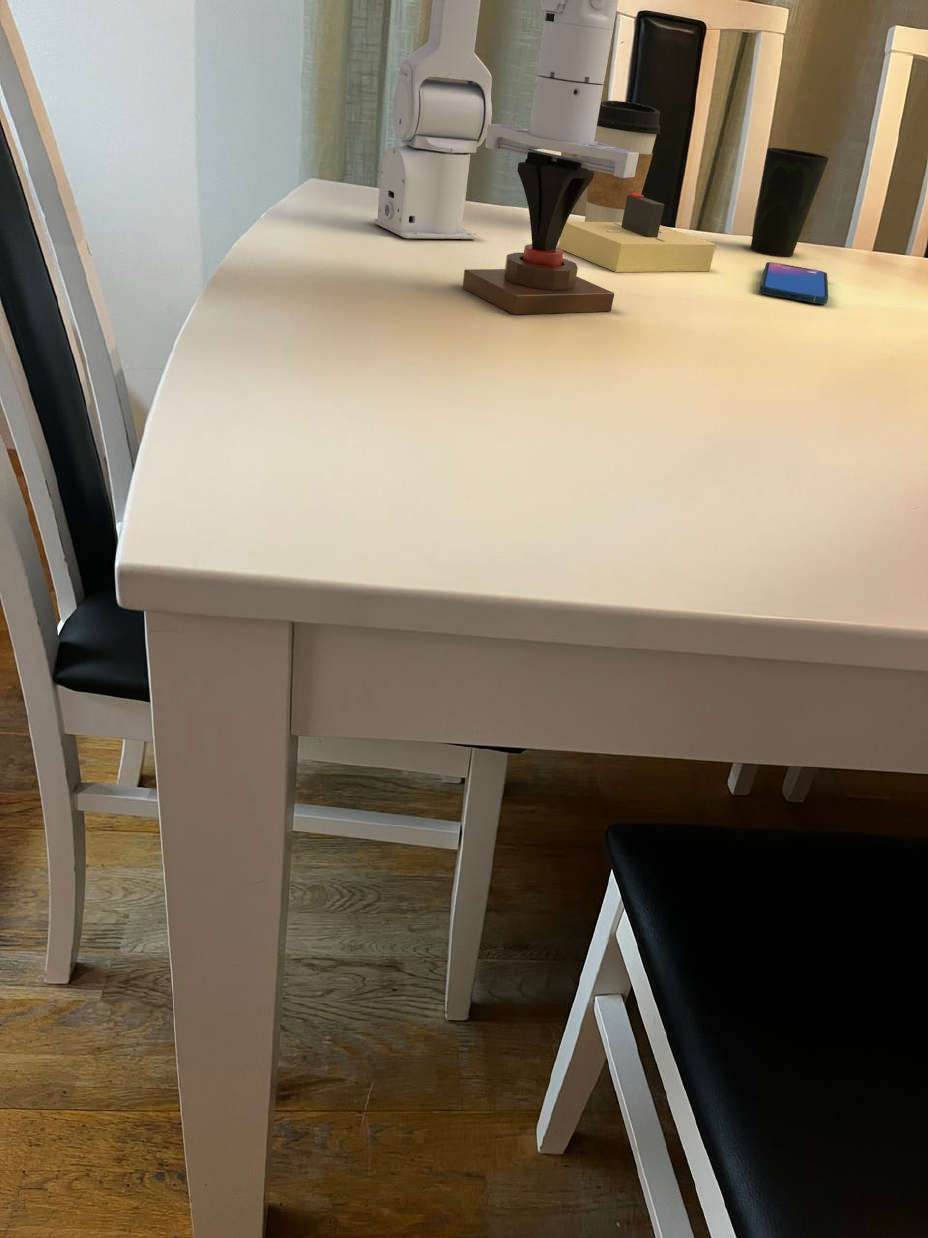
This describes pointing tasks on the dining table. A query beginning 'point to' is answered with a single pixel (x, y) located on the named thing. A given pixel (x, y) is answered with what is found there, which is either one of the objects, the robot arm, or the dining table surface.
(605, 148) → the robot arm
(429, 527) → the dining table surface
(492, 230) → the dining table surface
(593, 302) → the button block
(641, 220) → the dark grey rectangular block
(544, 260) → the button
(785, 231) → the cup
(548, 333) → the dining table surface
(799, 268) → the smartphone
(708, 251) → the panel
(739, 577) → the dining table surface
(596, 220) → the coffee cup
